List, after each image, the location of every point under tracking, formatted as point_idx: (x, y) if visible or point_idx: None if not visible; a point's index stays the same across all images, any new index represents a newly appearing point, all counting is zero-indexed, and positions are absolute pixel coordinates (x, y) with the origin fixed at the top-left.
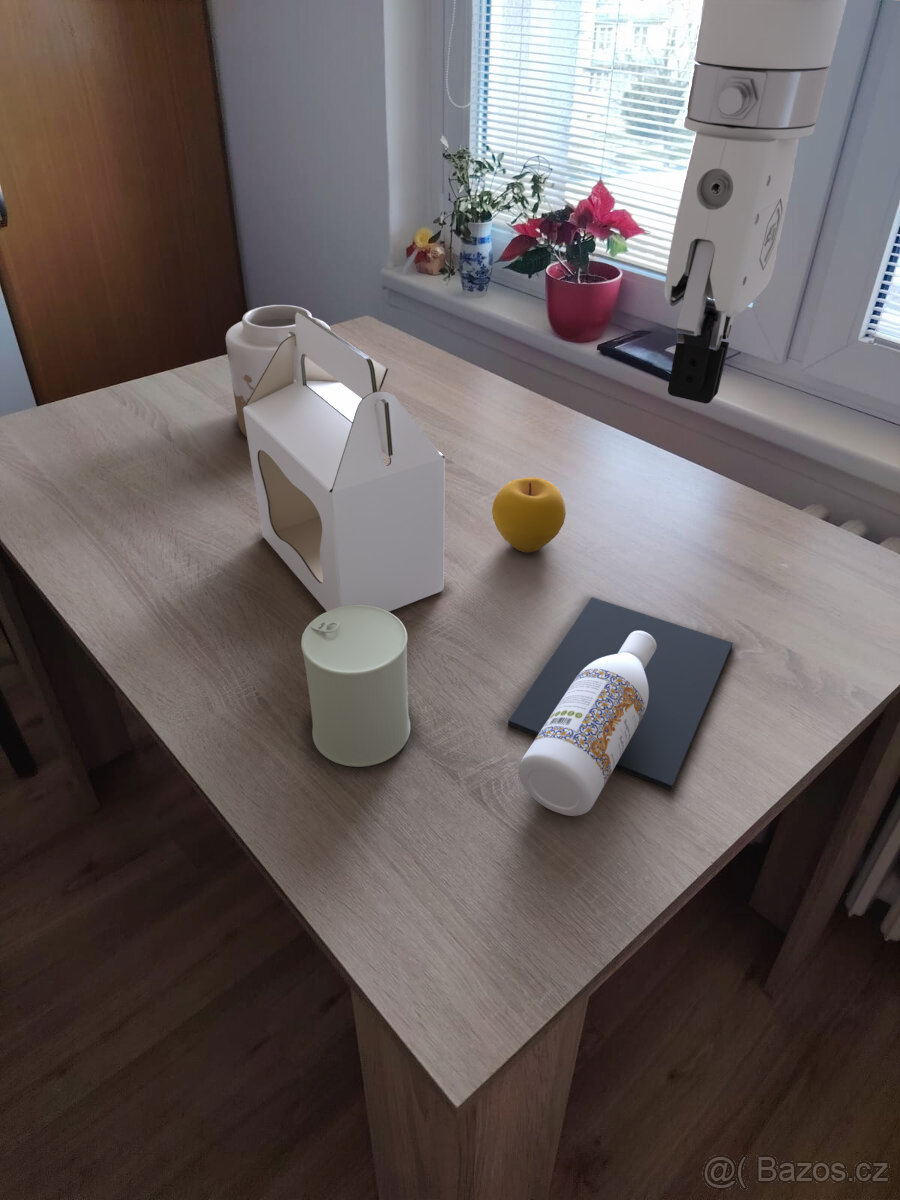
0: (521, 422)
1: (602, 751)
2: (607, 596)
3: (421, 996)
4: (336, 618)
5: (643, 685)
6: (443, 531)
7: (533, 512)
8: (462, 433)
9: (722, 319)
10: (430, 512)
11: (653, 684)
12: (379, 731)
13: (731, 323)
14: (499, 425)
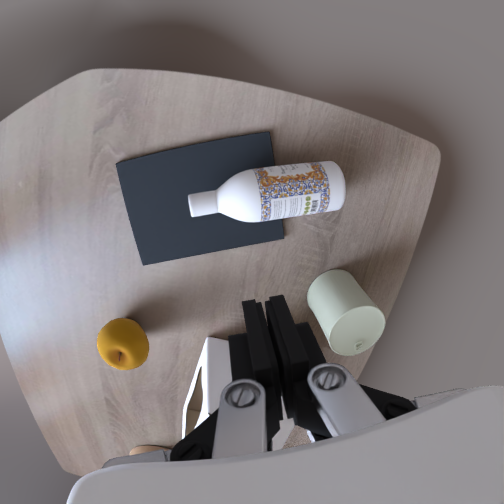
0: (43, 388)
1: (316, 172)
2: (131, 258)
3: (425, 179)
4: (347, 349)
5: (245, 179)
6: (208, 368)
7: (134, 341)
8: (80, 406)
9: (368, 418)
10: (220, 383)
11: (193, 184)
12: (353, 282)
13: (237, 409)
14: (56, 395)
